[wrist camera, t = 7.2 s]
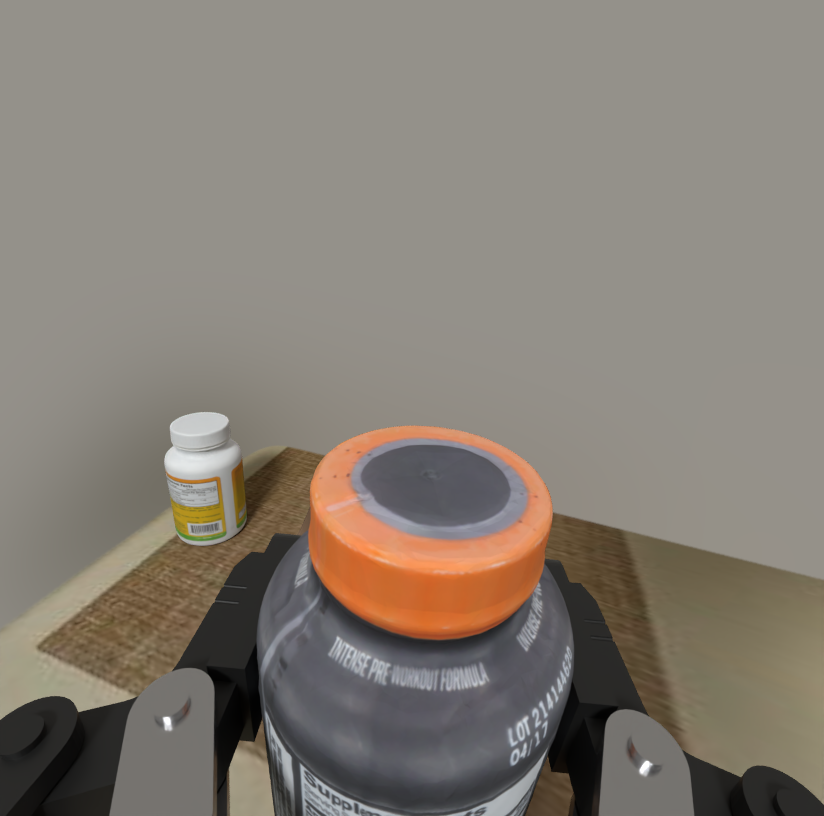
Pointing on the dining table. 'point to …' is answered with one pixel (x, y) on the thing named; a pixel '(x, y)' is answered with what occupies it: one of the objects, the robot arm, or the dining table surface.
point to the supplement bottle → (205, 479)
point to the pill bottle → (415, 633)
